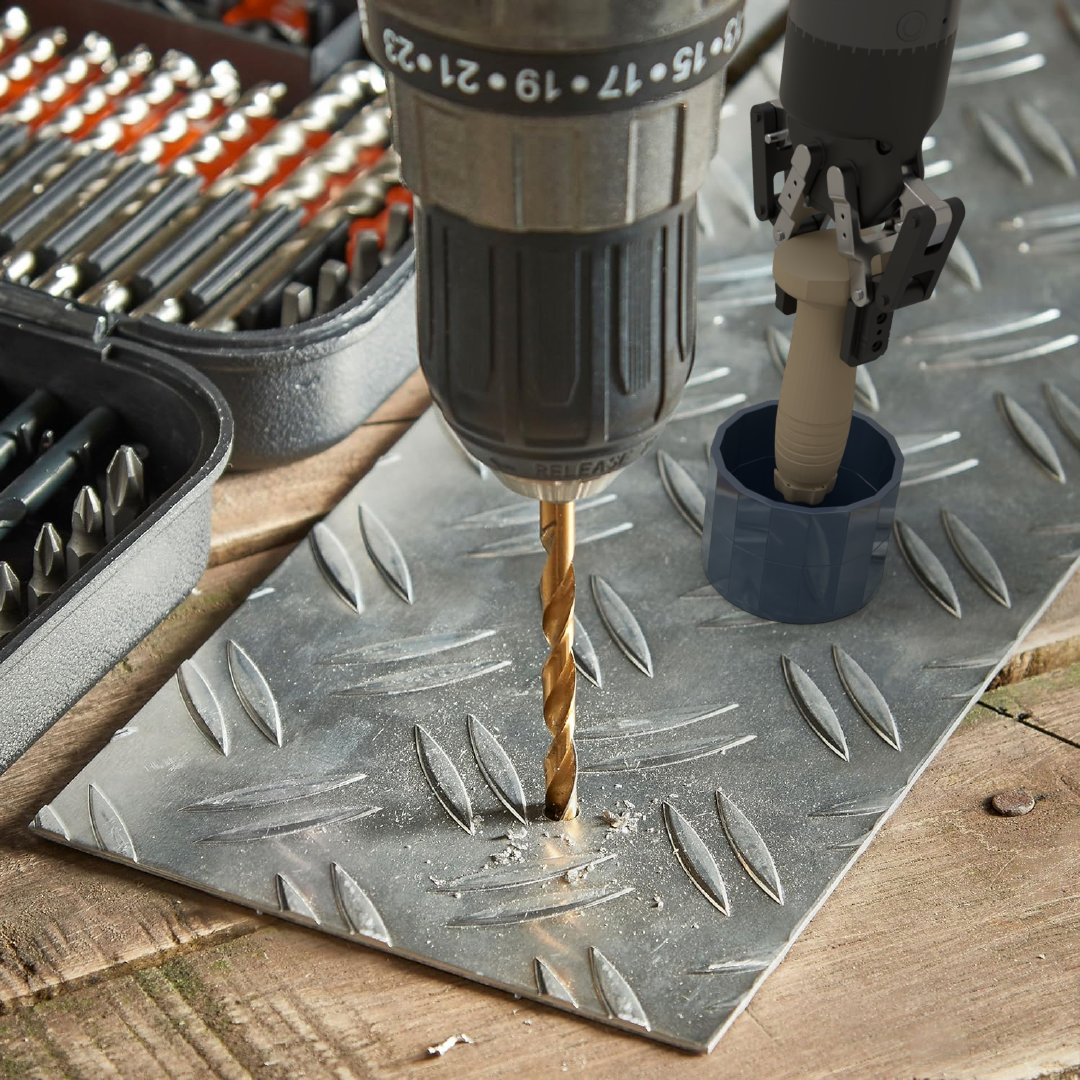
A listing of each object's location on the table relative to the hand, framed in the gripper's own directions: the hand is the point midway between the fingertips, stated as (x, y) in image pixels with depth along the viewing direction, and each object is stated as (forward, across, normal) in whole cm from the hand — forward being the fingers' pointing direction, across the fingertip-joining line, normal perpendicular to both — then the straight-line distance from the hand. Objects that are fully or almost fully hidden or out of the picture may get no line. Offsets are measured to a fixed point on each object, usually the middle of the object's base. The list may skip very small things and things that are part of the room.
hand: (826, 332), depth 79 cm
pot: (+16, 0, 0) cm, 16 cm away
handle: (+11, 0, 0) cm, 11 cm away
